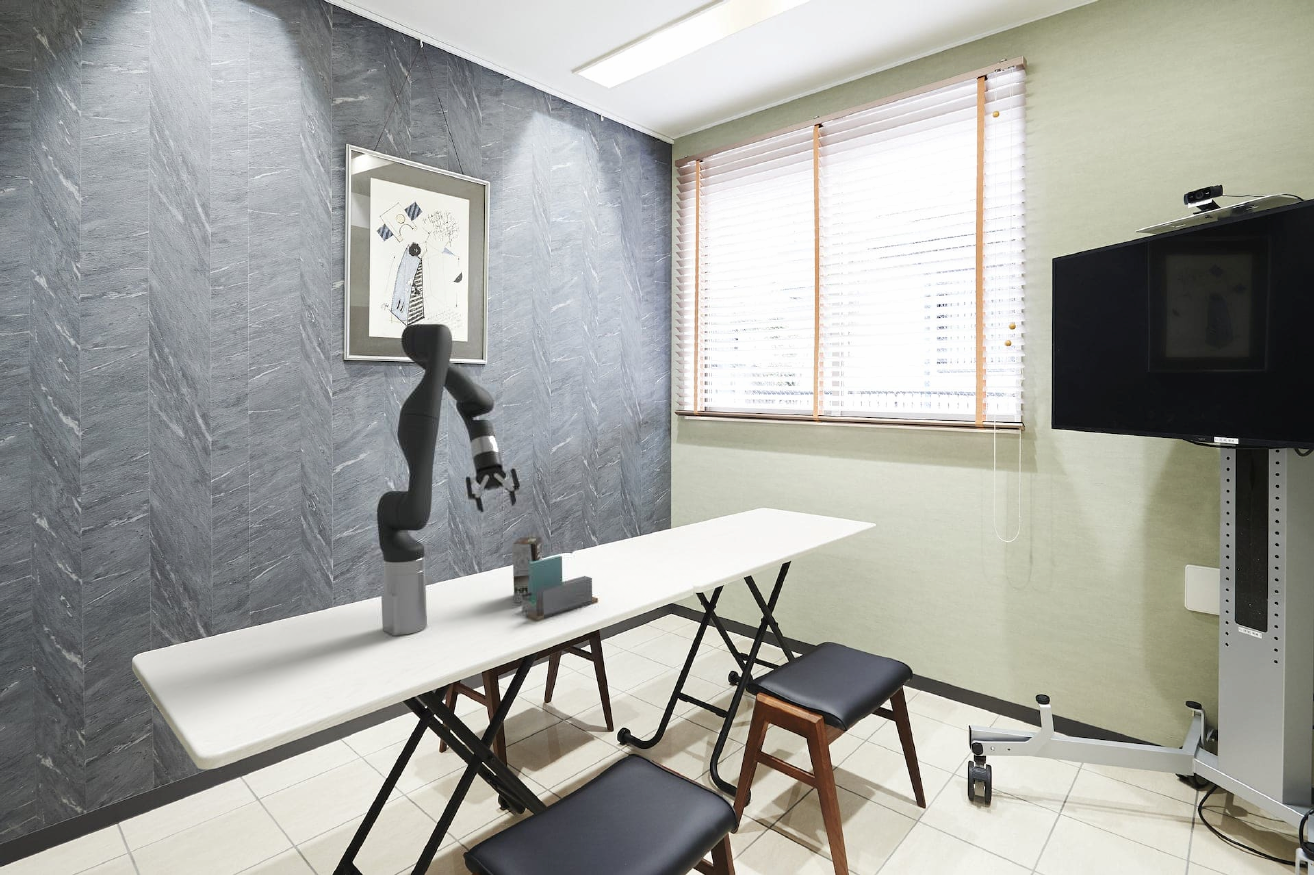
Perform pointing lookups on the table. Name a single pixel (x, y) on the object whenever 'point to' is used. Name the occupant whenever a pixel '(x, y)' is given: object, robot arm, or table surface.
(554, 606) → the grey piece
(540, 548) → the coffee box
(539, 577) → the teal flat panel
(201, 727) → the table surface
